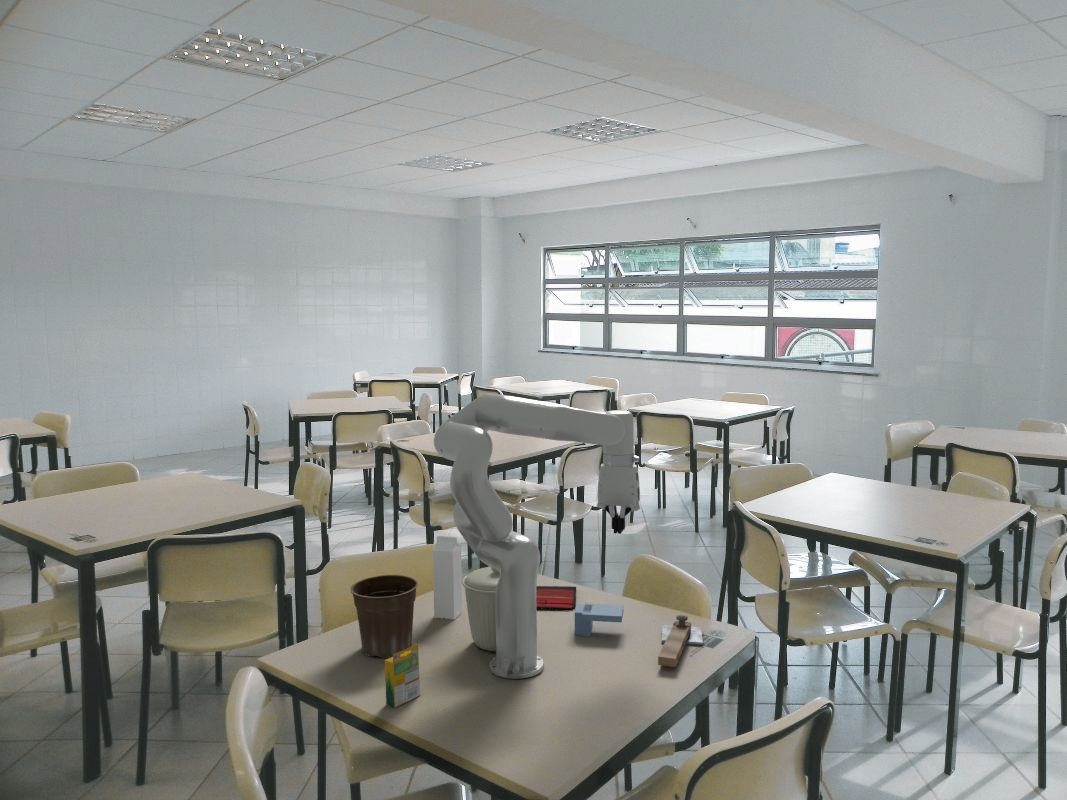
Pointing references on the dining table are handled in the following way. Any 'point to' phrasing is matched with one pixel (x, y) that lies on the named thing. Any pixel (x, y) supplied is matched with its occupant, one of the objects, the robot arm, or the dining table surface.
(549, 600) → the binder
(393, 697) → the crayon box
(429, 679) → the dining table surface
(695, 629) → the pintle base
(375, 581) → the plant pot
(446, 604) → the milk
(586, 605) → the block
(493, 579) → the canister
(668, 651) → the latch bar
